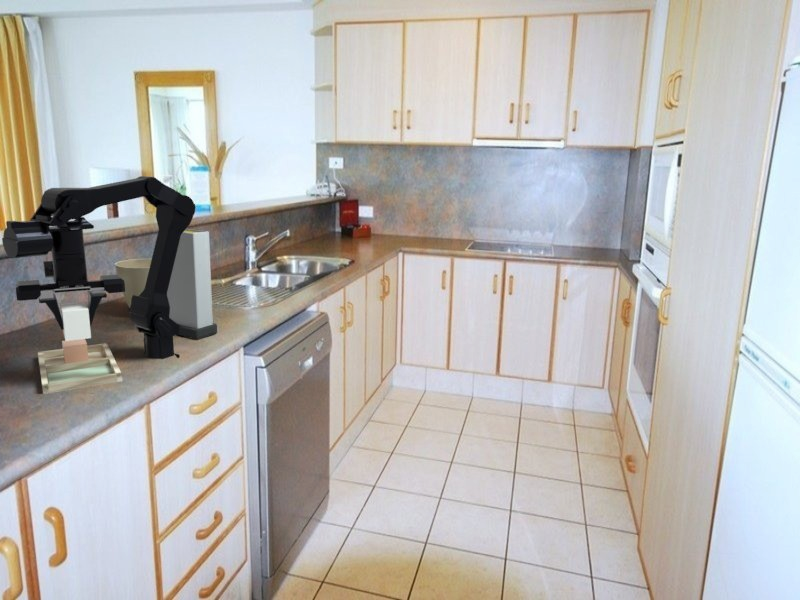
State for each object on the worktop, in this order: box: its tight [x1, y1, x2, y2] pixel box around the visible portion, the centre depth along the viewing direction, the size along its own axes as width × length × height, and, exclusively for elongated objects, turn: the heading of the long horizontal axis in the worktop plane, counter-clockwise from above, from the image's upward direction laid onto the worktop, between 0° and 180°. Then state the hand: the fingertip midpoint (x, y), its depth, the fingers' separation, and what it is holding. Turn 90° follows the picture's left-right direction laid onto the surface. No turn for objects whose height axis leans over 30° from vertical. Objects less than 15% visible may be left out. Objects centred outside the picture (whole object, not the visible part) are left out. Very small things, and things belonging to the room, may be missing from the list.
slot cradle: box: [37, 342, 123, 395], centre depth 121 cm, size 23×14×2 cm, turn 34°
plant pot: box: [114, 258, 152, 309], centre depth 166 cm, size 15×15×16 cm
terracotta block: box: [61, 339, 88, 364], centre depth 125 cm, size 4×4×4 cm
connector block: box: [59, 301, 92, 341], centre depth 114 cm, size 4×7×6 cm, turn 34°
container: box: [157, 228, 218, 340], centre depth 150 cm, size 7×18×30 cm, turn 62°
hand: (76, 327), depth 114 cm, fingers closed on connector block, 4 cm apart
